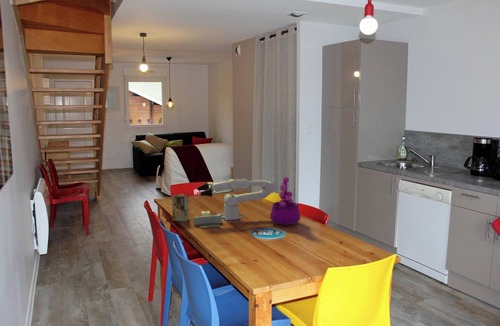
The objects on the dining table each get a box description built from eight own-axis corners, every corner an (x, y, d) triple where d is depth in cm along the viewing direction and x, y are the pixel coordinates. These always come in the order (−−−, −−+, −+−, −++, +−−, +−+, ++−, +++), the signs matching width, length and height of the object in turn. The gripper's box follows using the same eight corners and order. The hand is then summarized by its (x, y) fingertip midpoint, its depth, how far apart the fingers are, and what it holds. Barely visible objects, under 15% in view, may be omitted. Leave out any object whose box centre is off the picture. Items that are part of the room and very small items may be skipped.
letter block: (208, 219, 272) (208, 210, 271) (210, 221, 267) (210, 212, 266) (201, 220, 270) (201, 210, 269) (202, 222, 265) (202, 212, 264)
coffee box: (189, 219, 272) (189, 195, 270) (185, 221, 266) (184, 197, 264) (176, 217, 275) (176, 194, 273) (172, 220, 269) (171, 196, 267)
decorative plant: (298, 228, 252) (299, 180, 248) (268, 227, 256) (268, 178, 251) (301, 220, 270) (302, 174, 266) (272, 218, 274) (273, 173, 269)
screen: (221, 222, 265) (221, 214, 264) (222, 223, 264) (221, 215, 263) (193, 224, 260) (193, 217, 259) (193, 225, 259) (193, 217, 258)
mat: (217, 223, 263) (217, 222, 262) (220, 227, 255) (220, 226, 255) (198, 225, 259) (198, 224, 259) (200, 228, 252) (200, 228, 251)
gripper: (216, 176, 274) (195, 181, 270) (221, 185, 261) (200, 190, 257) (217, 186, 276) (197, 190, 273) (223, 195, 264) (202, 200, 260)
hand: (198, 191), depth 265 cm, fingers open, 7 cm apart
